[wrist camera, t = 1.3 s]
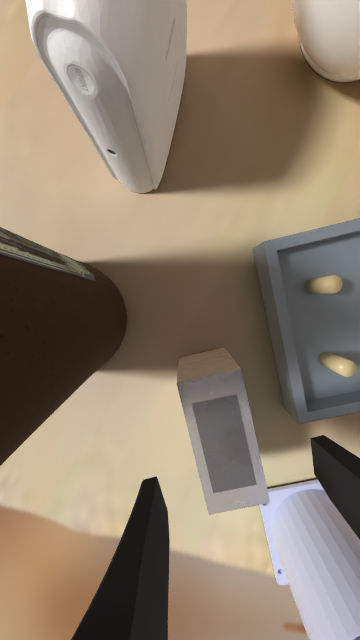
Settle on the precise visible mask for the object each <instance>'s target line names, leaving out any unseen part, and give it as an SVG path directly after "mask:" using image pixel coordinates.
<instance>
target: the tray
mask: <svg viewBox="0 0 360 640" xmlns="http://www.w3.org/2000/svg"><path fill="white" fill-rule="evenodd" d="M253 252H254V257H255V262H256V267H257V272H258V277H259V282H260V287H261V292H262V297H263V302H264V307H265V312H266V317H267V322H268V327H269V332H270V337H271V342H272V347H273V352H274V357H275V362H276V367H277V372H278V377H279V382H280V387H281V392H282V397H283V402H284V407H285V409H286V410H287V411H288V412H289V414H290V415H291V416H292V417H293V418H294V419H295V420H296V421H297V422H298V424H303V423H308V422H312V421H317V420H322V419H327V418H332V417H337V416H342V415H346V414H351V413H356V412H360V218H359V219H355V220H351V221H347V222H343V223H339V224H335V225H330V226H326V227H322V228H318V229H314V230H310V231H306V232H302V233H298V234H294V235H290V236H285V237H281V238H277V239H273V240H269V241H265V242H263V243H261V244H260V245H258V246H257V247H255V248H254V249H253Z"/></svg>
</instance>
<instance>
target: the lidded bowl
mask: <svg viewBox="0 0 360 640" xmlns="http://www.w3.org/2000/svg"><path fill="white" fill-rule="evenodd" d="M291 1H292V11H293V18H294V23H295V26H296V30H297V33H298V36H299V40H300V46H301V50H302V53H303V55H304V57H305V59H306V61H307V63H308V64H309V65H310V67H311V68H312V69H313V70H314V71H315V72H316V73H317V74H319V75H320V76H322V77H324V78H326V79H328V80H331V81H334V82H343V83H344V82H353V81H357V80H360V0H291Z"/></svg>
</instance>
